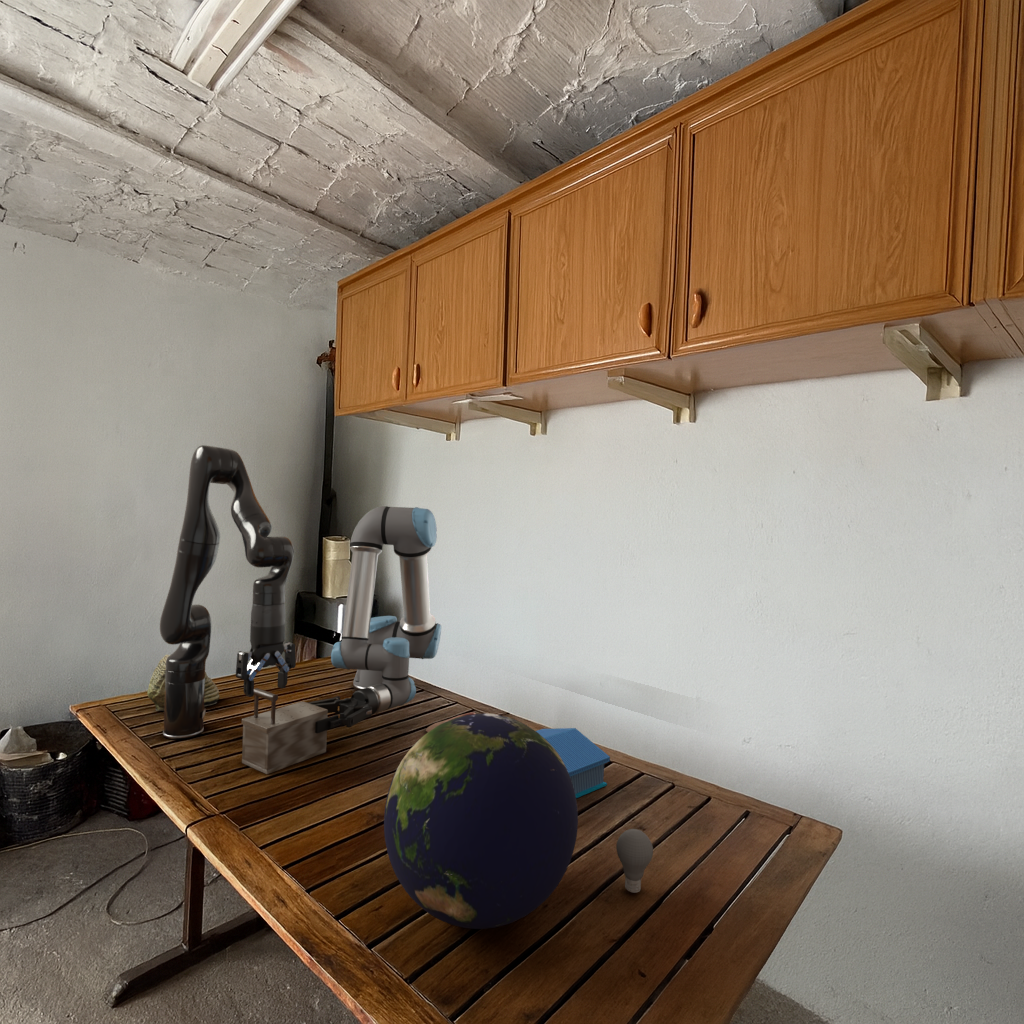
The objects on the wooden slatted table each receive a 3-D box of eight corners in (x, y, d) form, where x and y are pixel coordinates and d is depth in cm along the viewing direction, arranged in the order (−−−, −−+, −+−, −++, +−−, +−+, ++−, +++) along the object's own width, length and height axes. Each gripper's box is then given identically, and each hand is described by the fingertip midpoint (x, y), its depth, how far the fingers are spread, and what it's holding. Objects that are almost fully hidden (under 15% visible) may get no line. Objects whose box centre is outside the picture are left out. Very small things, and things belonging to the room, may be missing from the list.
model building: (485, 848, 116) (487, 795, 116) (411, 798, 134) (413, 751, 134) (618, 790, 143) (620, 746, 142) (541, 754, 161) (543, 715, 161)
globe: (338, 940, 91) (346, 732, 90) (439, 840, 119) (446, 681, 118) (534, 1012, 80) (544, 775, 79) (594, 883, 107) (603, 707, 107)
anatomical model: (422, 719, 171) (435, 706, 182) (421, 734, 171) (435, 720, 182) (469, 725, 168) (480, 711, 179) (469, 740, 168) (479, 725, 179)
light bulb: (610, 879, 108) (613, 822, 108) (644, 879, 109) (647, 822, 109) (619, 902, 102) (622, 840, 102) (655, 901, 103) (658, 840, 103)
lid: (266, 733, 143) (268, 698, 142) (241, 723, 148) (242, 689, 148) (327, 714, 157) (328, 682, 157) (302, 705, 162) (303, 674, 162)
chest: (267, 774, 143) (268, 733, 143) (241, 763, 149) (243, 723, 148) (326, 751, 157) (327, 714, 157) (301, 742, 162) (302, 705, 162)
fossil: (144, 707, 182) (145, 655, 182) (212, 696, 194) (213, 647, 194) (151, 716, 175) (153, 662, 175) (221, 703, 188) (223, 653, 188)
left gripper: (250, 629, 139) (248, 702, 139) (303, 620, 151) (301, 688, 151) (230, 624, 143) (228, 695, 144) (284, 616, 155) (282, 682, 155)
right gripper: (398, 723, 169) (332, 749, 150) (341, 705, 181) (274, 727, 163) (399, 696, 169) (333, 717, 150) (342, 679, 181) (275, 698, 163)
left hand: (265, 691), depth 147 cm, fingers open, 8 cm apart
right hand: (302, 722), depth 156 cm, fingers closed on chest, 10 cm apart
